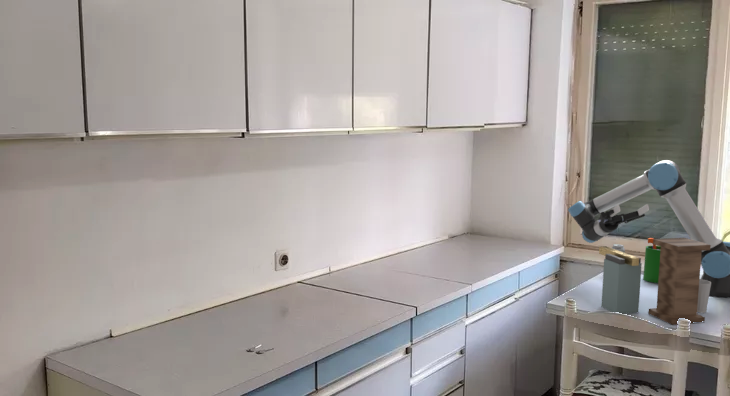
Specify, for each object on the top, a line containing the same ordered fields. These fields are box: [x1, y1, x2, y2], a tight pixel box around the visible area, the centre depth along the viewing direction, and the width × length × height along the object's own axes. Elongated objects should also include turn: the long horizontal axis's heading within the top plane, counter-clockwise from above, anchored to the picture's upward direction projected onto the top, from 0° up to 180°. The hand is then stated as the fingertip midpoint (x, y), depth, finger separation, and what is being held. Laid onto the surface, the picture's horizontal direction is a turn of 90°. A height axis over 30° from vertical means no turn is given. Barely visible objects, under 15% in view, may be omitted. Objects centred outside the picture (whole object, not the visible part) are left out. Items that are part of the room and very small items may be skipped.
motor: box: [642, 237, 661, 284], centre depth 305 cm, size 10×9×20 cm
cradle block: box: [600, 252, 643, 314], centre depth 259 cm, size 10×10×22 cm
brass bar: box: [598, 245, 640, 266], centre depth 261 cm, size 22×3×3 cm, turn 13°
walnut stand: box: [648, 237, 711, 326], centre depth 249 cm, size 14×14×30 cm
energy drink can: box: [611, 243, 626, 253], centre depth 313 cm, size 6×6×15 cm
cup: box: [697, 278, 711, 314], centre depth 259 cm, size 8×8×12 cm
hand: (633, 207), depth 268 cm, fingers open, 13 cm apart
